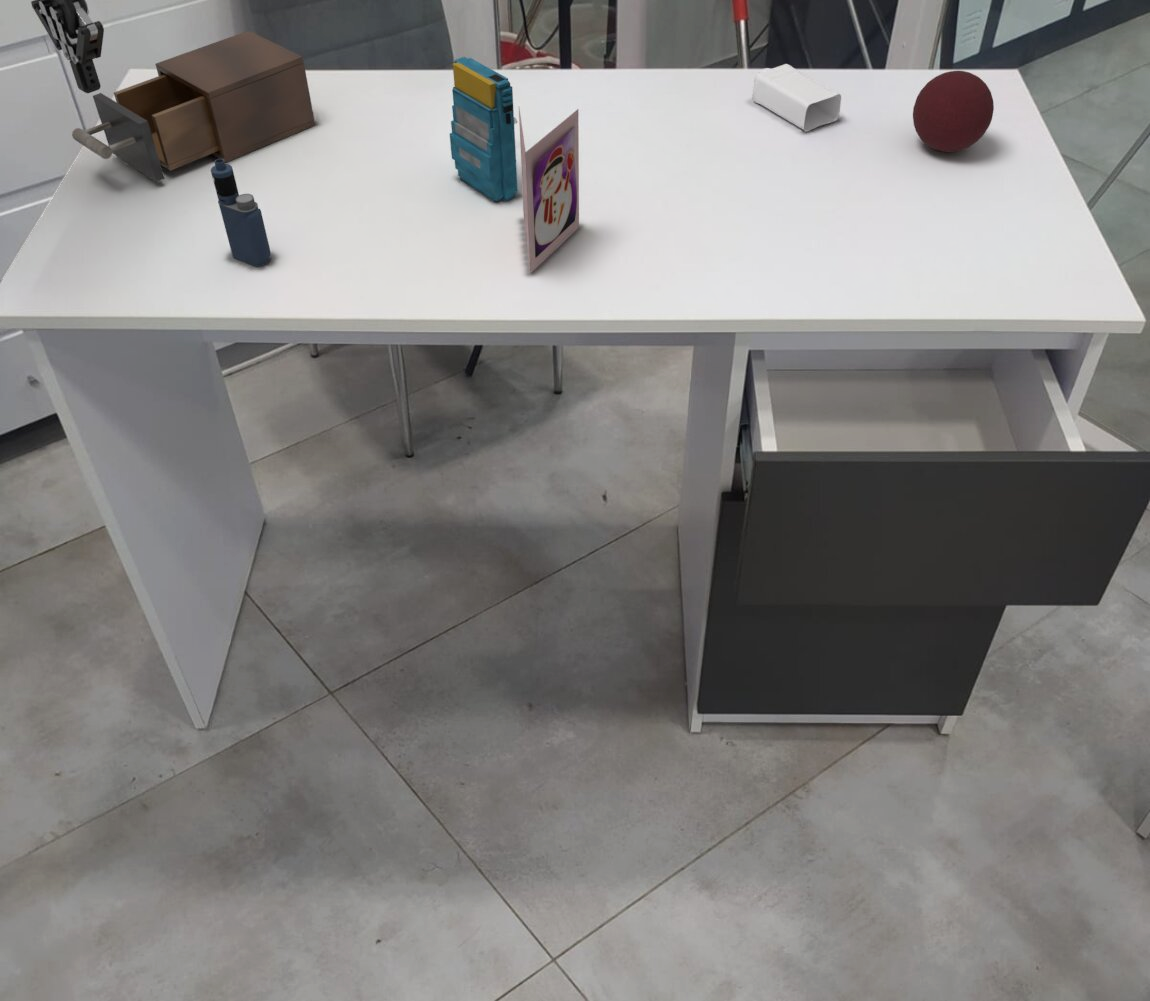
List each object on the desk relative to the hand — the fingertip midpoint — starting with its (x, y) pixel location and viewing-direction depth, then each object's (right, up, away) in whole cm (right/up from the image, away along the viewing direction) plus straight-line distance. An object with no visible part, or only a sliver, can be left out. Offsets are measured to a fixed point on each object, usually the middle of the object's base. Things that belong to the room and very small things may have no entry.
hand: (90, 89), depth 135 cm
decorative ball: (+108, -3, +13) cm, 109 cm away
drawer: (+4, -4, +12) cm, 13 cm away
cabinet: (+13, +1, +19) cm, 23 cm away
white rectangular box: (+90, +5, +21) cm, 92 cm away
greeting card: (+54, -19, -3) cm, 58 cm away
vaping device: (+21, -22, -4) cm, 30 cm away
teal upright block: (+47, -10, +7) cm, 49 cm away
